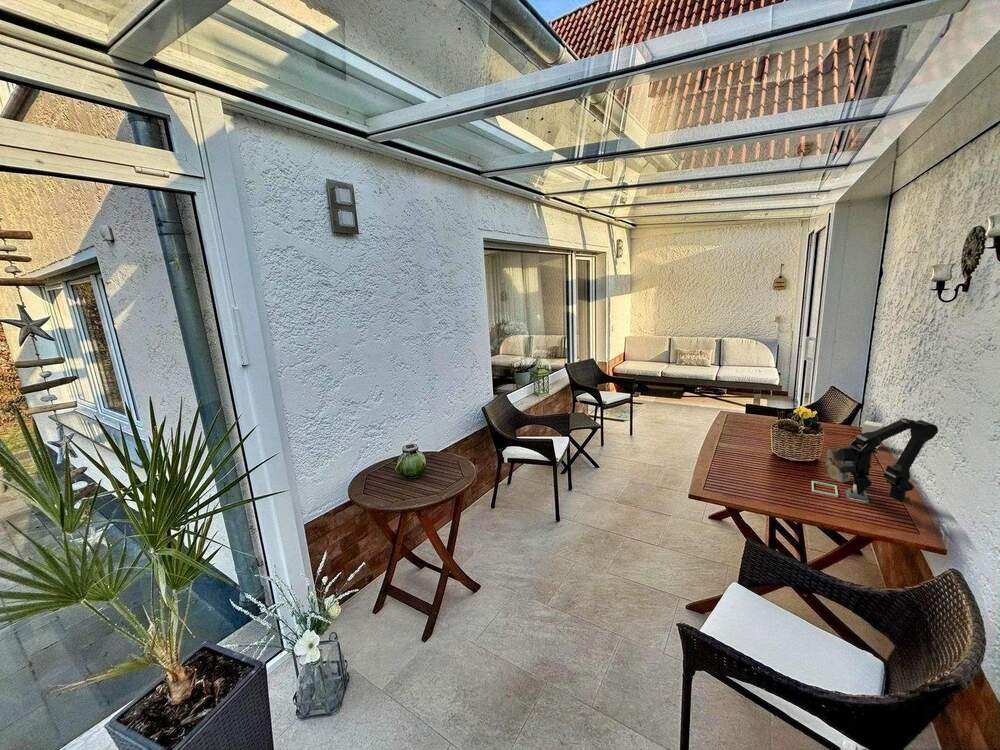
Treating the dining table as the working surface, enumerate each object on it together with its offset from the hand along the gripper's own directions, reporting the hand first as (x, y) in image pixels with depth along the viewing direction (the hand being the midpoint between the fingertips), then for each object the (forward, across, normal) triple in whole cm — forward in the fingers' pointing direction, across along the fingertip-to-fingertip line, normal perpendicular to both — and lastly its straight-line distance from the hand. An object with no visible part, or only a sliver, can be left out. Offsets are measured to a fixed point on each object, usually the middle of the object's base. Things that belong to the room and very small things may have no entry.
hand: (857, 490), depth 199 cm
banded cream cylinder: (+3, 0, 0) cm, 3 cm away
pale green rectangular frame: (+4, 0, -12) cm, 13 cm away
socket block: (+4, 0, 0) cm, 4 cm away
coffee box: (+4, -19, -6) cm, 20 cm away
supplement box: (+4, -84, +13) cm, 85 cm away
